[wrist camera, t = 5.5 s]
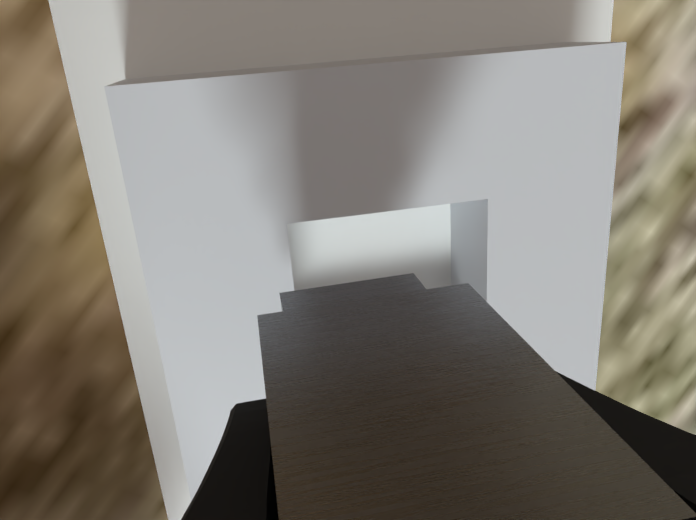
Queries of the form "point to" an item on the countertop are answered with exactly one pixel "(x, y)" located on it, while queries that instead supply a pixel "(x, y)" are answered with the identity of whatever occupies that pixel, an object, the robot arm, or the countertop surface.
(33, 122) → the countertop surface
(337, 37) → the bracket board
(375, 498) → the grey tall block
